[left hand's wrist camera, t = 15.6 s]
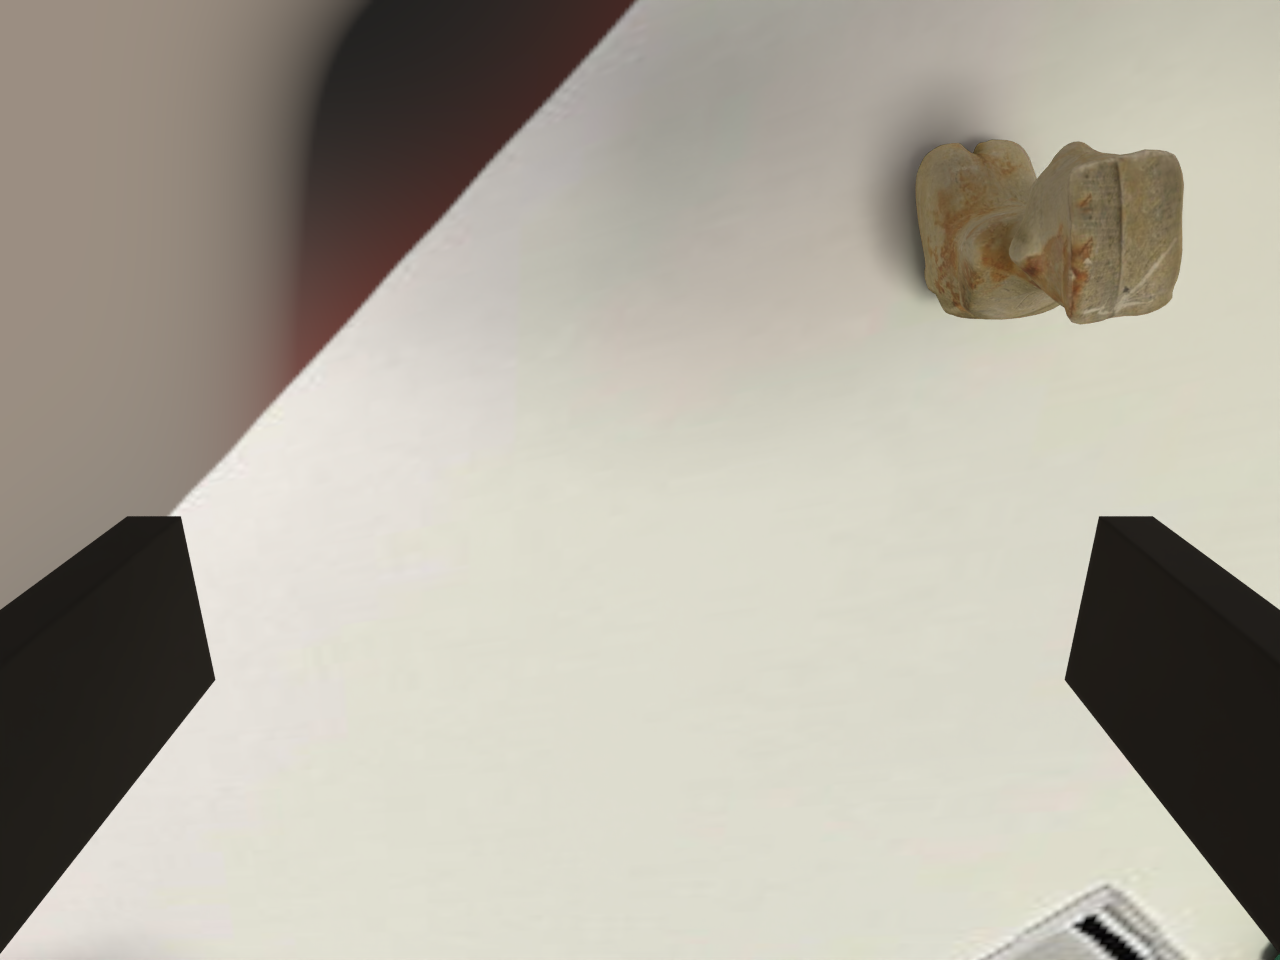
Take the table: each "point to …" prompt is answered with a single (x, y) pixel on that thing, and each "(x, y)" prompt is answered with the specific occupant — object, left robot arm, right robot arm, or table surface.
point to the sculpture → (1050, 231)
